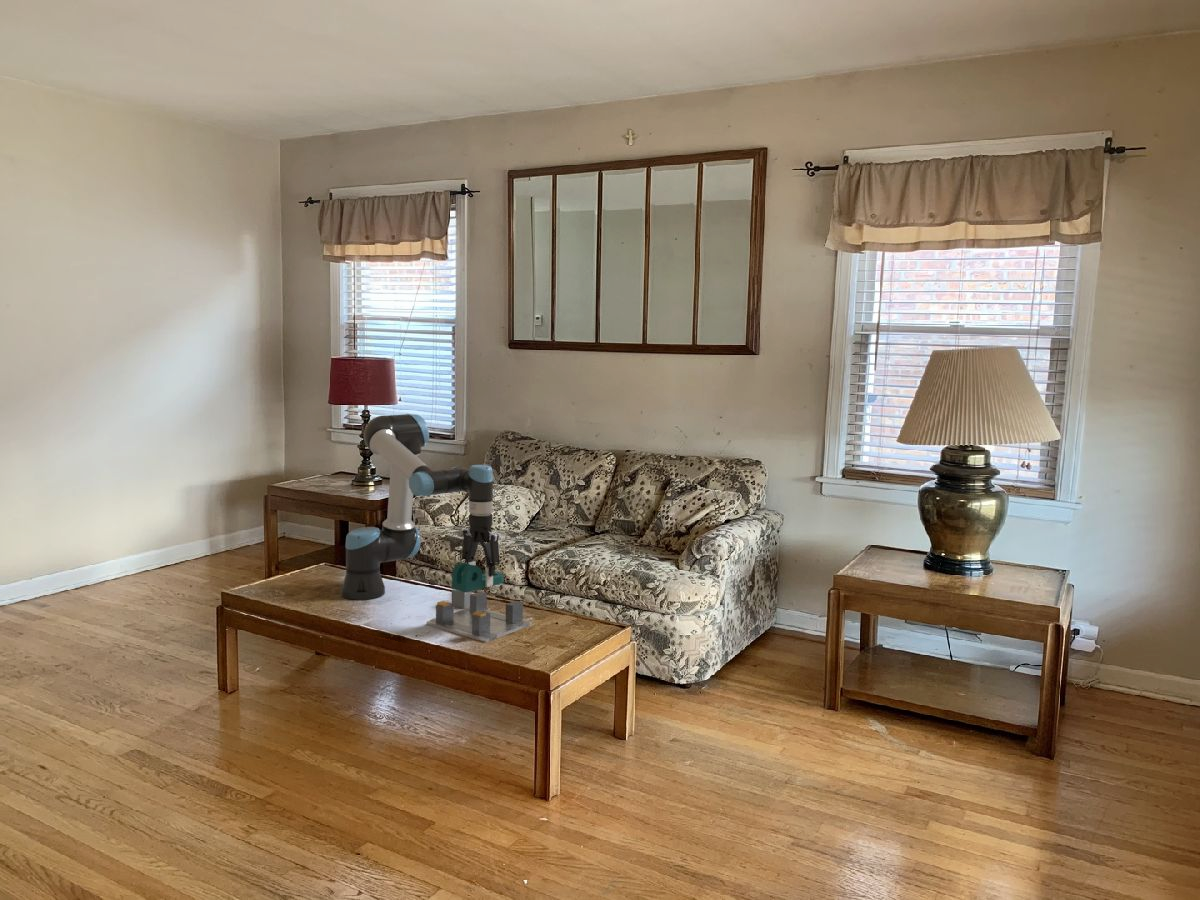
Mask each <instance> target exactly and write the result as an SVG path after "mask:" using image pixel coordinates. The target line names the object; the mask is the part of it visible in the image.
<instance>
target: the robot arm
mask: <svg viewBox="0 0 1200 900" xmlns="http://www.w3.org/2000/svg"><path fill="white" fill-rule="evenodd" d="M364 427H365V428H364V431H363V441H364V444H365V446H366V447H367V448H368V450H369V451H370V452H371V453H372V454H375V455H376V456H380V457H382V458H383V459H384V460H385V461H386V462H388V464H390V475H389V489H388V501H387V502H388V503H387V516H386V517H387V518H386V519H385V520H384V521H382V526H381V529H380V528H379V527H375V526H367V527H366V526H363V527H359V528H358V527H357V528H355V529H352V530H350V531H349V532H348V533H347V534H346V537H345V545H344V546H345V547H344V548H345V575H344V580H343V584H342V585H341V589H340V594H341V597H343V598H345V599H348V600H356V601H357V600H360V601H361V600H372V599H377V598H380V597H382V596H384V595H385V593H386V587H385V584H384V581H383V577H382V575H381V569H380V568H381V567H380V566H381V563H387V562H388V563H389V562H395V561H404V560H406V559H409V558H413V557H414V556H415V555H417V554H418V552H419V550H420V547H421V542H422V541H421V539H422V538H421V536H420V533H421V532H420V531H419V529H418V527H416V524H415V522H414V521H413V520H412V515H413V503H414V502H413V501H414V496H416V497H428V496H432V495H441V494H442V495H443V494H451V493H452V494H453V493H459V492H462V493H467V494H468V512H469V515H468V525H469V528H465V529H463V530H462V535H463V536H462V537H463V540H462V553H461V559H462V560H464V561H465V563H467V564H469V565H475V566H477V564H476V563H477V562H476V561H475V560H476V559H475V557H476V553H477V550H478V547H479V544H480V546H481V547H482V549H483V552H484V557H485V560H486V565H485V573H486V588H489V586H490V587H492V585H493V576H494V572H495V567H496V566H498V565H500V563H501V562H500V561H501V560H500V549H499V538H500V534H498V533H494V532H493V531H492V526H493V524H494V523H493V519H494V518H493V516H494V515H493V514H492V513H493V512H494V511H493V509H494V508H493V504H494V503H493V498H494V497H493V496H494V495H493V494H494V493H493V492H494V489H493V488H494V476H493V475H494V474H493V468H492V466H490V465H489V464H473V465H470V466H469V468H466V467H462V466H454V467H451V468H449V469H439V470H433V469H432V468H431V467H430V466H429V465H427V464H426V463H424V461H422V460H421V459H420V458H419V457H418V456H419V455H421V454H422V448H423V447H425V446H427V443H429V440H430V431H429V426H428V425H427V422H426V420H425V419H424V418H423V417H422V416H421V415H419V414H410V413H405V414H391V415H379V416H376V417H373V418H372V419H371V420H370V421H369V422H368V423H367V424H366V426H364Z"/></svg>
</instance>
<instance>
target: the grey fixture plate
mask: <svg viewBox="0 0 1200 900" xmlns="http://www.w3.org/2000/svg"><path fill="white" fill-rule="evenodd" d="M487 604H488V594H487V593H486V592H484V591H477V592H474V593H472V594H471V595H470V606H468V607H466V608H465V609H461V610H458V611H454V610H455V607H454V604H453V603H452V602H449V601H445V600H441V601H437V602H436V605H435V617H434V618H433V619H432V618H431V619H430V620H428V621H426V626H429V627H433V628H437V629H439V630H442V631H447V632H449V633H453V634H456V635H460V636H463V637H466V638H470V639H473V640H476V641H479V642H483V643H489V642H490V641H492V640H493V641H494V640H496V639H499V638H501V637H504V636H507V635H510V634H512V633H514V632H517V631H520V630H523V629H525V628H528V627H531V626H533V621H530V620H527V619H524V602H523V601H519V600H514V601H512V602H508V603H506V604H505V613H500V612H497V611H493V610H489V609H488V606H487Z"/></svg>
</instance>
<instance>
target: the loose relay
mask: <svg viewBox="0 0 1200 900" xmlns="http://www.w3.org/2000/svg"><path fill="white" fill-rule="evenodd" d="M472 592H473V591H471V592H468V593H465V592H462V591H458V590H455V589H452V588H451V603H453V604H454V608H458V609H462V610H464V609H465V608H469V607H470V595H471V594H473V593H472Z"/></svg>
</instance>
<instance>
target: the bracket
mask: <svg viewBox="0 0 1200 900" xmlns="http://www.w3.org/2000/svg"><path fill="white" fill-rule="evenodd" d="M501 584H504V573H501V572H495V571H494V576H493V585H492V586H497V585H501ZM492 586H489V587H490V588H491V587H492ZM489 587H488V588H489ZM485 588H487V587H486V572H484V573H483V570H482V568H481V567H479V565H476V566H475V565H469V564H467V562H464V561H463V562H458V563H456V564H455V565H454V567H453V569H452V572H451V590H452V589H455V590H458V591H462V592H465V593H468V592H471V591H472V592H476V591H478V590H481V589H485Z"/></svg>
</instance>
